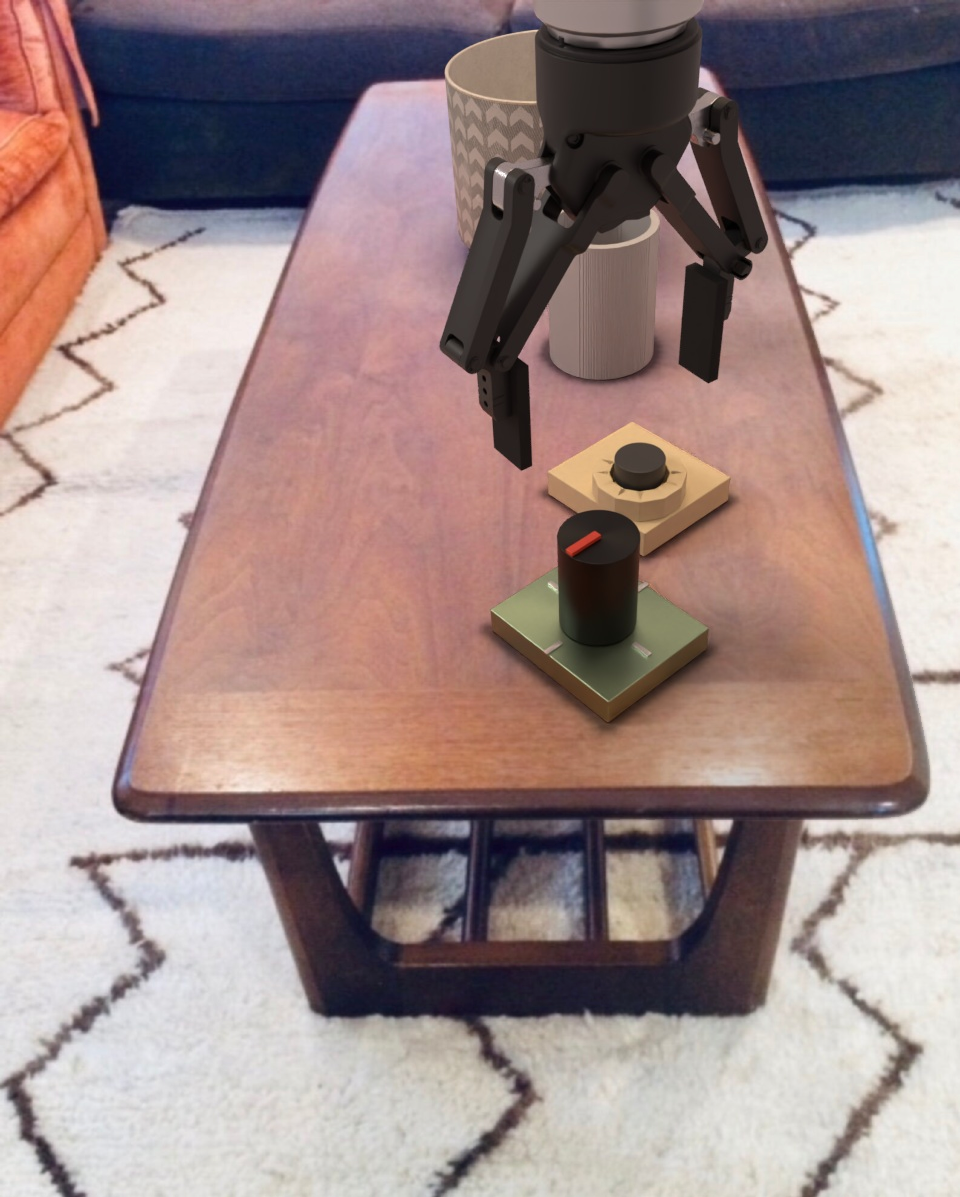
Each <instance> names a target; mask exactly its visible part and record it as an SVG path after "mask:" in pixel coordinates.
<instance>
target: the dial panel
mask: <svg viewBox="0 0 960 1197" xmlns="http://www.w3.org/2000/svg"><path fill="white" fill-rule="evenodd" d="M490 622H491V630H492V631H493V633H495V634H496V635H497V636H499V637H500V638H501V639H502V640H504V641H505V642H506V643H508V644H509V645H510V646H511V647H513V648H514V649H515V650H516V651H518V653H520V654H521V655H523V656H524V657H525V658H526V659H527V660H529V661H530V662H531V663H533V664H534V665H535V666H536V667H537V668H539V669H540V670H541V671H542V672H544V673H545V674H546V675H548V676H549V677H550V678H551V679H552V680H554V681H555V682H556V683H558V685H560V686H561V687H562V688H564V689H565V690H566V691H568V692H569V693H570V694H571V695H573V696H574V697H575V698H576V699H578V701H580V702H581V703H582V704H584V705H585V706H586V707H587V708H589V709H590V710H591V711H592V712H594V713H595V714H596V715H597V716H599V717H600V718H601V719H603V720H604V721H605V722H606V723H611V721H612V720H614V719H615V718H617V717H618V716H619V715H620V714H622V713H623V712H624V711H626V710H627V709H628V708H630V707H631V706H633V705H634V704H635V703H637V701H640V700H641V699H642V698H643V697H644V696H646V695H647V694H649V693H650V692H652V691H653V690H654V689H655V688H656V687H658V686H660V685H661V684H662V683H663V682H664V681H666V680H667V679H668V678H670V677H672V676H673V675H674V674H675V673H677V672H678V671H679V670H681V669H682V668H684V667H685V666H686V665H688V664H689V663H690V662H691V661H693V660H694V659H696V658H697V657H698V656H699V655H701V654H702V653H703V652H705V651H706V650H707V648H708V640H709V631H710V628H709V627H708V626H707V625H706V624H704V623H703V622H700V620H698V619H696V618H695V617H694V616H692V615H690V614H689V613H688V612H686V611H685V610H683V609H681V608H680V607H679V606H678V605H676V604H674V603H673V602H672V601H670V600H668V599H667V598H665V597H664V596H663V595H661V594H659V593H658V592H656V591H655V590H654V589H652V588H651V587H650V583H649V582H647V581H644V582H641V581H640V580H639V581H638V602H637V622H636V625H635V627H634V629H633V631H632V632H631V633H630V634H629V635H628V636H627V637H626V638H624V639H622V640H621V641H619V642H616V643H613V644H609V645H602V646H595V645H587V644H583V643H580V642H578V641H576V640H574V639H572V638H571V637H569V636H568V635H567V634H566V633H565V632H564V631H563V629H562V627H561V625H560V622H559V597H558V565H557V566H555V567H554V568H552V569H551V570H549V571H548V572H546V573H544V574H542V576H540V577H538V578H537V579H535V580H533V581H532V582H531V583H529V584H528V585H526V586H524V587H523V588H521V589H520V590H518V591H517V592H515V593H514V594H512V595H511V596H509V597H507V598H506V599H504V600H503V601H501V602H499V603H498V604H496V605H495V606H493V607H492V608H491V609H490Z"/></svg>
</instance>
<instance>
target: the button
mask: <svg viewBox="0 0 960 1197" xmlns="http://www.w3.org/2000/svg"><path fill="white" fill-rule="evenodd" d="M665 465H666V456H665V454H664V452H663V451H662V450H661V449H660V448H659V447H657V446H655V445H653V444H649V443H642V442H638V443H631V444H627V445H625V446H623V447H621V448H620V449H619V450H618V451H617V452H616V454H615V457H614V479H615V481H616V483H617V484H618V485H619V486H621V487H622V488H624V489H628V490H634V491H646V490H652V489H656V488H657V487H659V486H660V485H661V484H662V483H663V481H664V478H665Z"/></svg>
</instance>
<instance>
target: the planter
mask: <svg viewBox="0 0 960 1197" xmlns="http://www.w3.org/2000/svg"><path fill="white" fill-rule="evenodd" d="M538 30H539V29H532V30H522V31H517V32H512V33H507V34H502V35H498V36H495V37H491V38H487V39H485V40H482V41H478V42H476V43H474V44H472V45H469V46H468V47H465V48H463V49H462V50H460V51H459V52H457V53H456V54H454V56H452V57H451V59H449V61H448V62H447V63H446V65H445V69H444V82H445V92H446V105H447V114H448V115H447V116H448V126H449V128H448V129H449V138H450V139H449V140H450V150H451V159H452V160H451V161H452V173H453V183H454V184H453V185H454V196H455V207H456V220H457V231H458V236H459V237H460V239H461V242H462V243H463V244H464V245H465V246H466V247H467V248H468V249H469V250H470V246H471V243H472V240H473V237H474V234H475V231H476V228H477V225H478V221H479V218H480V215H481V212H482V209H483V193H484V171H485V166H486V164H487V163H488V161H489V160H490V159H492V158H494V157H500V158H502V159H504V160H506V161H507V162H509V163H518V162H523V161H527V160H532V159H537V157H538V154H539V151H540V149H541V146H542V142H543V136H544V131H543V125H542V121H541V118H540V114H539V111H538V107H537V102H536V66H535V35H536V33H537V31H538ZM545 190H546V188H544V189H543V190H542V191H541V193H540V195H539V197H538V198H539V199H541V197H542V195H543V193H544V191H545ZM530 231H531V228H530ZM529 233H530V232H529Z"/></svg>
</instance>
